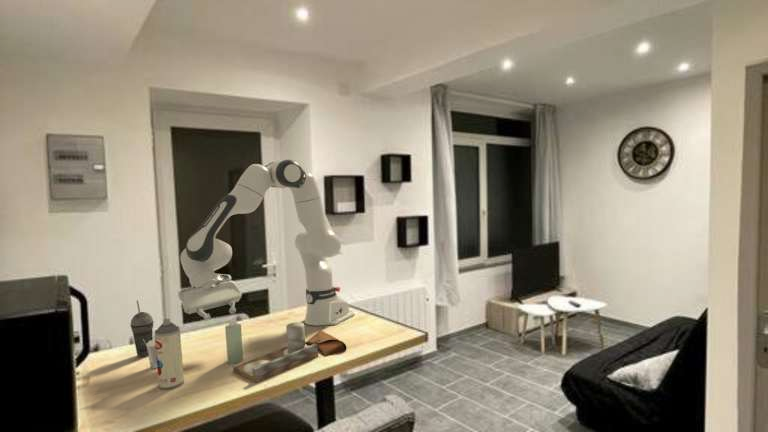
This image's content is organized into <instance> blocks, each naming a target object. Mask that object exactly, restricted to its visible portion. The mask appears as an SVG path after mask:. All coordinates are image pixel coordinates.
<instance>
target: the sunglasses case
mask: <svg viewBox="0 0 768 432" xmlns="http://www.w3.org/2000/svg"><path fill="white" fill-rule="evenodd" d="M312 344H317V349H318V353H321V354H322V355H323V356H324V357H330V356H332V355H335V354H340V353H343V352H346V351H347V345H346V343H344V341H342V340H340V339H338V338H336V337H335V336H332V335H331V334H329V333H327V332H325V331H323V330H322V329H320V330H319V331H318V332H317V333H315V334H314V335H313V336H311V337H310V338H309V339H307V341H306V340H305V345H307V346H310V345H312Z"/></svg>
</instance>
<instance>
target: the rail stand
mask: <svg viewBox="0 0 768 432" xmlns="http://www.w3.org/2000/svg"><path fill="white" fill-rule="evenodd" d="M285 330H286V345H287V346H285V347H282V348H279V349H277V350H274V351H272V352H269V353H267V354H264V355H261V356H259V357H256V358H254V359H251V360H248V361H246V362H242V363H240V364H238V365H235V366H233V368H232V369H233V373H236V374H237V375H240V376H242V377H244V378H246V379H247V380H250V381H252V382H254V383H259V382H262V381H264V380H266V379H269V378H271V377H274V376H276V375H277V374H280V373H283V372H285V371H287V370H290V369H291V368H294V367H296V366H298V365H299V366H300V365H301V364H303V363H306V362H308V361H310V360H312V359H315V358H317V357H319V351H318V349H317V344H312V345H307V346H306V344H305V342H306V337H305V336H306V335H305V334H306V333H305V332H306V331H305V322H304V323H303V322H300V321H299V322H290V323H288V324H286V328H285Z"/></svg>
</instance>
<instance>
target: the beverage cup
mask: <svg viewBox="0 0 768 432" xmlns="http://www.w3.org/2000/svg"><path fill="white" fill-rule="evenodd" d="M136 304H137V313H136V314H135V315H134V316H132V318H131V320H130V327H131V332H132V336H133V340H134V341H133V342H134V346H135V351H136V355H137V358H139V359H143V358H147V357H148V358H149V356H148V351H147V346H146V344H147V343H148V342H149V341H151V340H153V331H154V330H153V328H154V323H155V321H154V319H153V316H152V315H151V314H150V313H149V312H145V311H142V312H141V309H140V303H139V300H136ZM143 339H144V340H143ZM144 341H145V342H144Z"/></svg>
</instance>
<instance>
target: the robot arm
mask: <svg viewBox="0 0 768 432" xmlns="http://www.w3.org/2000/svg"><path fill="white" fill-rule="evenodd" d="M270 188H279V189H286V188H289V190H290V191H291V193H292V195H293V201H294V206H295V211H296V214H297V219H298V221H299V223H300V224H301V225H302V226H303V228H304V229H305V230H303V231H300V232H299V233H298V234H297V235H296V237H295V239H294V244H295V247H296V249H297V250H298V253H299V254H300V256H301V259H302V260H301V261H302V263H303V267H304V271H305V280H306V281H305V285H306V289H305V299H306V312H305V318H304V324H306V325H308V326H309V325H310V326H316V327H317V326H318V327H319V326H330V325H331V326H332V325H333V326H335V325H338V324H340V323H342V322H343V321H345V320H347V319H350V318H351V317H353V316H355V312H354V311H353V310H350V307H349V303H348V301H347V300H345V299H344V298H342V297H341V296H339V295H338V294H337V293H336V292H340V291H341V287H340V286H333V270H332V267H331V266H330V265H329V263H328V260H327V258H332V257H335V256H337V255H338V254H339V253H340V251H341V248H342V243H341V239H340V237H339V236H338V235H337V234H336V233H335V232H334V230H333V229H332V227H331V225H330V223H329V221H328V219H327V216H326V213H325V210H324V205H323V201H322V197H321V196H322V195H321V191H320V189H319V186H318V182H317V180H316V178H315V176H314V174H312V173H310V172H306V171H305V170H304V169H303V168H302V166H301V165H300V164H299V163H298V161H295V160H293V159H280V160H276V161H272V162H269V163H268V164H266V165H262V164H259V163H253V164H251V165H249V166H248V167H247V168H246V169H245V170H244V172H243V173H242V174H241V175H240V177H239V179H238V181H237V182H236V184H235V185H234V188H233V189H232V190H231V191H230V192H229V193H228V194H227V195H225V196H222V197H221V198H220V200H219V201H218V202H217V203H216V205H215V206H214V207H213V208H212V210H211V211H210V213H209V214H208V215H207V216H206V218H205V220H204V221H203V222H202V223H201V225H200V226H199V227H198V229H197V230H196V231H195V232H194V233H192V235H190V237H189V238H187V240H186V243H185V248H184V249H183V250H182V251H181V253H180V263H181V266H182V269H183V271H184V273H185V275H186V276H187V278H188V279H189V284H190V286H191V287H188V288H183V289H181V290H180V291H179V292H178V293H177V294H178V295H177V296H178V298H179V300H180V301H181V304H182V307H183V311H184V313H186V314H188V315H191V314H194V313H197V314H198V316H200V317H202V318H203V320H204V321H205V322H206V321H210V319H211V318H212V317H211V315H210V313H209V312H208V313H206V312H205V311H206V310H211V309H213V308H217V307H221V306H225V305H229V306H230V308H229V310H228V312H229V313H230V314H231V315H232V314H235V313H237V309H236V307H235V306H236V303H238V302H239V301H240V300H241V299H242V296H243V294H242V291H241V289H240V287H239V286H238V284H237V283H236V282H235V281H233V280H232V276H231V275H230V274H225V273H224V274H223V273H216V272H215V271H219V270H221V268H224V267H225V266H226V265H228V264H229V262H231V260H232V257H233V249H232V246H231V244H229V243H227V242H225V241H223V240H221V239H219V238H216V237H217V234H218V233H219V231H221V228H222V227H223V226H224V224H225V223H226V221H227V220H228V219H229V218H230V217H231V216H233V215H238V214H240V215H241V214H242V215H244V214H250V213H253V212H255V211H256V210H257V208H258V207H259V206H260V205H261V203H262V201H263V199H264V197H265V195H266V193H267V191H268V190H269V189H270Z"/></svg>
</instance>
